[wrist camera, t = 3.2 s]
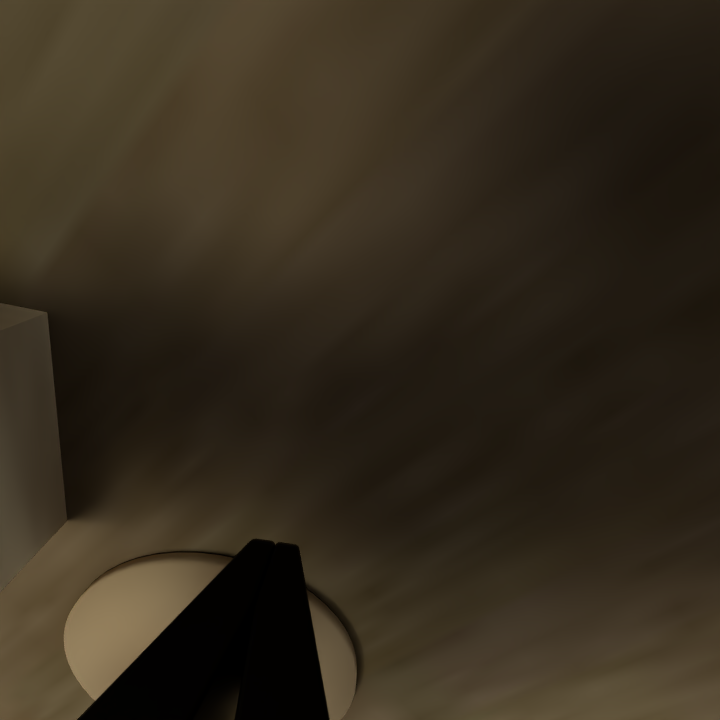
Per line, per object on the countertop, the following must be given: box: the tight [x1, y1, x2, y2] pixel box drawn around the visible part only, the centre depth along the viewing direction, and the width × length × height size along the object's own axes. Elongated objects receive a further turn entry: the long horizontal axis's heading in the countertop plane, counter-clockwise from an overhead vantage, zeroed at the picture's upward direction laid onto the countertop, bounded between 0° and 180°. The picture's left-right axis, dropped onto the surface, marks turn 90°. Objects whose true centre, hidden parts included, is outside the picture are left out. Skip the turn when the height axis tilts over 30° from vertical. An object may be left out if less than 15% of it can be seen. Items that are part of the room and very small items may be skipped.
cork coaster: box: [64, 552, 357, 720], centre depth 13 cm, size 9×9×1 cm
